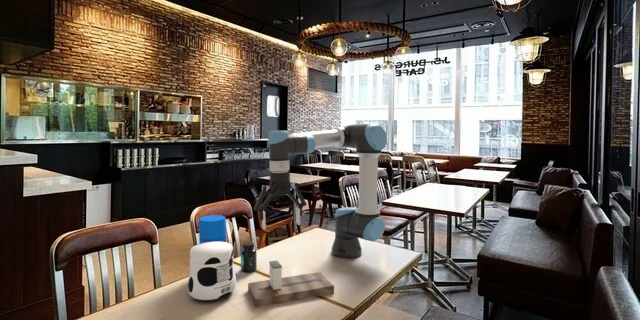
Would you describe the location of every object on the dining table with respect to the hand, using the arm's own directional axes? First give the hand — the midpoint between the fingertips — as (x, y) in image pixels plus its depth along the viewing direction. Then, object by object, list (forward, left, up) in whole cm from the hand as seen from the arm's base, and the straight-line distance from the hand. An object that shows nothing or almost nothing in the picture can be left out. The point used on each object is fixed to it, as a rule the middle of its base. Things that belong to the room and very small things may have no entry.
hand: (281, 226), depth 136 cm
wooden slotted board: (-3, +4, -25) cm, 25 cm away
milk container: (+25, -5, -25) cm, 36 cm away
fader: (+3, +4, -22) cm, 22 cm away
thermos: (+23, -22, -25) cm, 41 cm away
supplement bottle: (+8, -23, -25) cm, 35 cm away
